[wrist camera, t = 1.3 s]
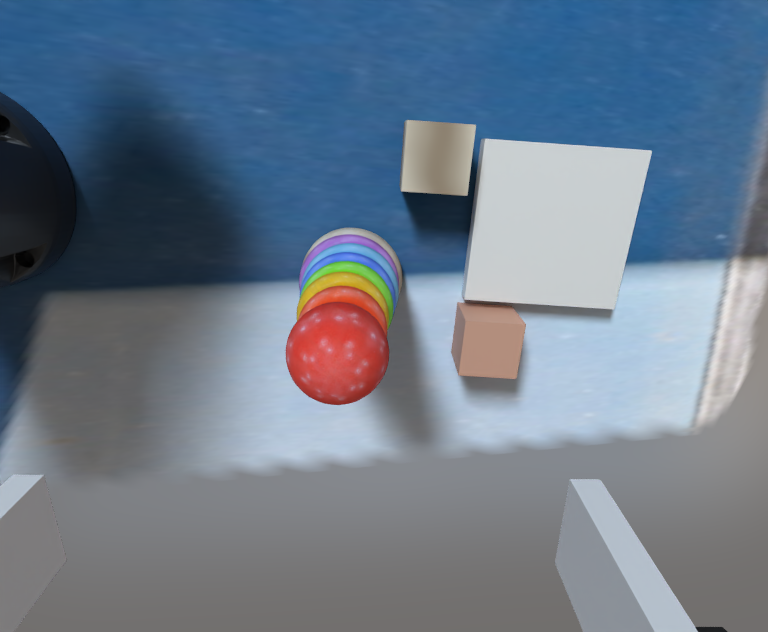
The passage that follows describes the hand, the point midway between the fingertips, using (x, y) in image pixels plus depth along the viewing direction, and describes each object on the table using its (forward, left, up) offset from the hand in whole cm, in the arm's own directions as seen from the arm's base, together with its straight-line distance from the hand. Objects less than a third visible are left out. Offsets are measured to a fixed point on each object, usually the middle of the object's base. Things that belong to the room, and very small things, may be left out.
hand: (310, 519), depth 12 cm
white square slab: (+14, +4, -28) cm, 32 cm away
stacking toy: (-1, -1, -29) cm, 29 cm away
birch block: (+5, +8, -29) cm, 30 cm away
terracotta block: (+10, -5, -29) cm, 31 cm away
